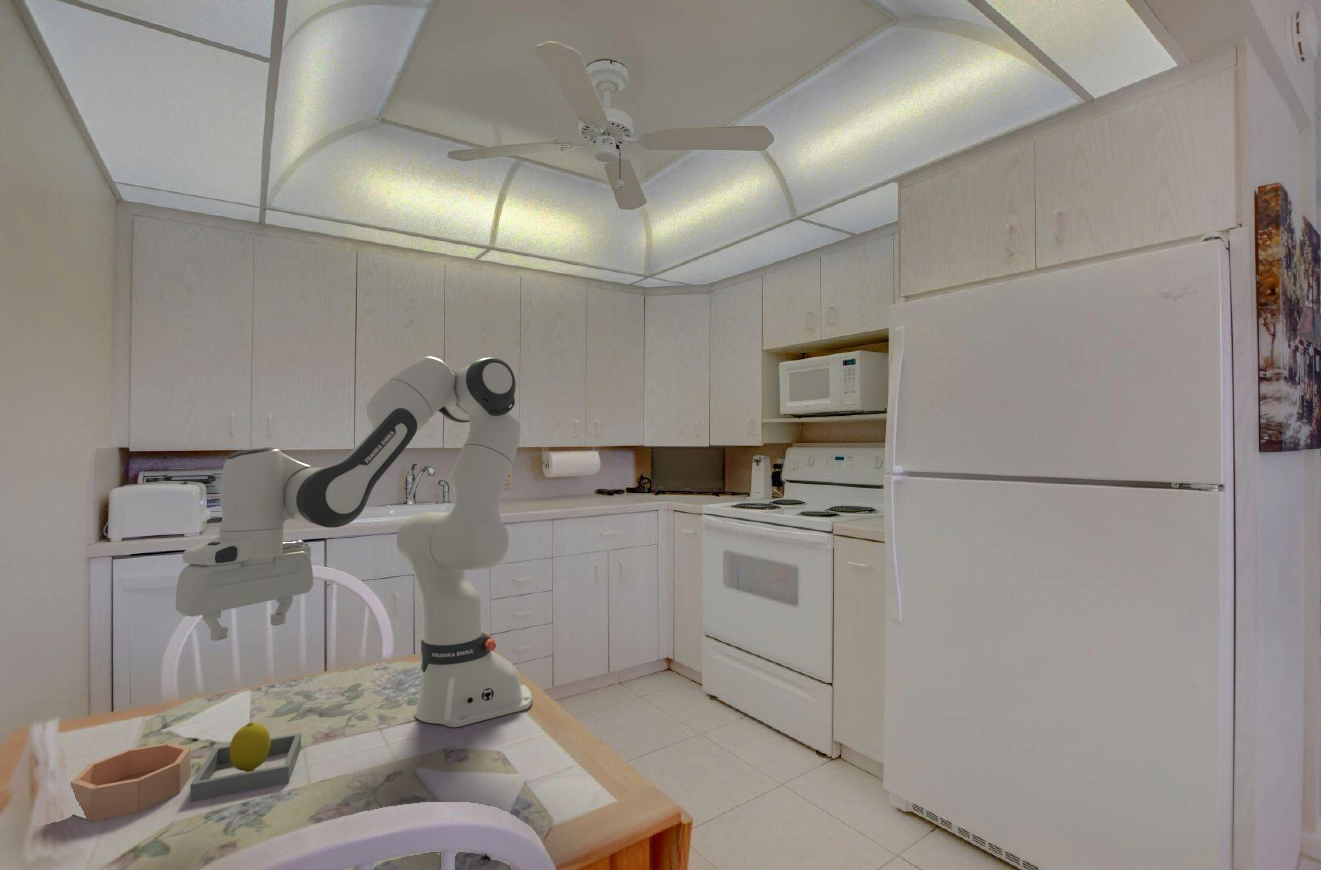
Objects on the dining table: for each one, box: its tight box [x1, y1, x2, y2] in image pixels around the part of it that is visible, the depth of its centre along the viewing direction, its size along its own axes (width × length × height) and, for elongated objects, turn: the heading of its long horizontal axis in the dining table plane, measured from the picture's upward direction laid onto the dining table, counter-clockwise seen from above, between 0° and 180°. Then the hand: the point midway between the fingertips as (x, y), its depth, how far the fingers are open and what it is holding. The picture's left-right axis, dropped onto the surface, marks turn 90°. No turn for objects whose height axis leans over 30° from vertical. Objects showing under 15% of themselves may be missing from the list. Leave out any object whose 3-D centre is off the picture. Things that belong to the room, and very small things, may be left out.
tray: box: [189, 732, 302, 803], centre depth 99 cm, size 13×13×2 cm
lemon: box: [229, 721, 271, 772], centre depth 99 cm, size 6×6×8 cm
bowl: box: [70, 742, 192, 822], centre depth 93 cm, size 13×13×4 cm
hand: (249, 631), depth 100 cm, fingers open, 8 cm apart
